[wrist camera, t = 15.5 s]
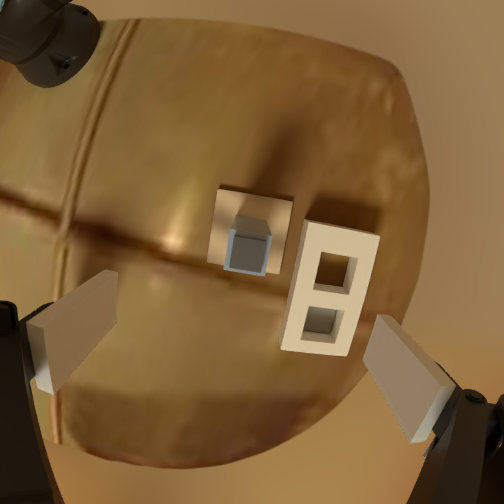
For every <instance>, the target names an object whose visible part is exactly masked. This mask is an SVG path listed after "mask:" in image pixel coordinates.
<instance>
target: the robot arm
mask: <svg viewBox="0 0 504 504" xmlns="http://www.w3.org/2000/svg"><path fill="white" fill-rule="evenodd" d="M71 1H72V0H0V59H1V60H4V61H6V62H9V63H12V64H14V65H15V66H16V68H17V69H18V70H19V71H20V73H21V74H22V75H23V76H24V78H25V79H26V80H27V81H28V82H30V83H31V84H34V85H36V86H39V87H42V88H50V87H55V86H58V85H60V84H62V83H64V82H66V81H67V80H69V79H70V78H71V77H73V76H74V75H75V74H76V73H77V72H78V71H79V70H80V69H81V68H82V67H83V66H84V65H85V63H86V62H87V61H88V59H89V58H90V56H91V55H92V53H93V51H94V49H95V46H96V44H97V41H98V37H99V24H98V21H97V19H96V17H95V16H94V15H93V14H92V13H91V12H90V11H89V10H88V9H86V8H85V7H82V6H79V5H75V4H71V3H69V2H71ZM117 292H118V272H115V271H110V270H103V271H102V272H100V273H98V274H97V275H95V276H94V277H92V278H91V279H89V280H88V281H86V282H85V283H83V284H82V285H80V286H78V287H77V288H75V289H74V290H72V291H71V292H69V293H68V294H66V295H65V296H63V297H62V298H61V299H59V300H58V301H56V302H51V303H47V304H44V305H42V306H41V307H39V308H38V309H36V311H33V312H32V313H31V314H29V315H27V316H26V317H24V318H23V319H21V320H20V321H18V313H17V307H16V305H15V304H14V303H12V302H9V301H0V504H65V503H64V501H63V498H62V496H61V493H60V491H59V488H58V486H57V483H56V480H55V477H54V474H53V471H52V468H51V465H50V462H49V459H48V456H47V452H46V449H45V446H44V442H43V439H42V435H41V431H40V427H39V423H38V419H37V414H36V410H35V405H34V401H33V395H32V390H31V386H30V380H31V379H32V378H33V377H34V376H35V378H36V383H37V387H38V389H41V390H43V391H45V392H48V393H50V394H53V395H55V393H56V392H57V391H58V390H59V389H60V387H61V386H62V385H63V384H64V383H65V381H66V380H67V379H68V378H69V377H70V375H71V374H72V373H73V372H74V371H75V370H76V368H77V367H78V366H79V365H80V364H81V363H82V361H83V360H84V359H85V358H86V357H87V356H88V354H89V353H90V352H91V351H92V350H93V349H94V348H95V346H96V345H97V344H98V343H99V342H100V341H101V340H102V338H103V337H104V336H105V335H106V334H107V333H108V332H109V331H110V329H111V328H112V327H113V326H114V325H115V324H116V323H117ZM363 362H364V364H365V365H366V367H367V369H368V371H369V372H370V374H371V376H372V377H373V379H374V381H375V382H376V384H377V386H378V388H379V390H380V391H381V393H382V395H383V396H384V398H385V400H386V402H387V403H388V405H389V407H390V409H391V410H392V412H393V414H394V416H395V417H396V419H397V421H398V423H399V425H400V427H401V428H402V430H403V432H404V434H405V435H406V437H407V439H408V441H409V443H415V442H423V441H425V440H426V439H427V437H428V435H429V434H430V432H431V431H432V430H433V432H434V433H435V435H436V436H435V438H434V439H433V441H432V443H431V444H430V446H429V447H428V449H427V450H426V452H425V453H424V455H423V456H426V455H427V456H426V459H425V462H424V464H423V467H422V469H421V472H420V474H419V477H418V479H417V482H416V484H415V486H414V488H413V491H412V493H411V495H410V497H409V499H408V501H407V503H406V504H504V394H503V395H501V396H500V398H499V400H498V402H497V403H496V404H491V403H487V400H486V398H485V397H484V396H483V395H482V394H481V393H479V392H477V391H475V390H471V389H464V390H462V388H461V387H460V386H459V385H458V384H457V383H456V382H455V381H454V380H453V378H452V377H450V376H449V374H448V373H447V372H445V370H444V369H443V368H442V367H441V366H440V365H439V364H438V363H436V362H435V361H433V359H432V358H431V357H430V356H429V355H428V354H427V353H426V352H425V351H424V350H423V349H422V348H421V347H420V346H419V345H418V344H417V343H416V341H414V340H413V339H412V337H411V336H410V335H409V334H408V333H407V332H406V331H405V330H404V329H403V328H402V327H401V326H400V325H399V324H398V323H397V322H396V321H395V320H394V319H393V318H392V317H391V316H390V315H382V314H378V315H377V318H376V321H375V324H374V327H373V331H372V334H371V337H370V340H369V343H368V345H367V348H366V351H365V354H364V357H363ZM501 443H502V444H501ZM500 444H501V446H500ZM499 446H500V448H499Z"/></svg>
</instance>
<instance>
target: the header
mask: <svg viewBox="0 0 504 504" xmlns="http://www.w3.org/2000/svg"><path fill="white" fill-rule="evenodd" d="M379 239H380V236H379V235H376V234H374V233H372V232H368V231H363V230H358V229H354V228H349V227H344V226H339V225H334V224H329V223H323V222H318V221H313V220H308V219H304V222H303V227H302V232H301V237H300V242H299V247H298V252H297V257H296V262H295V266H294V271H293V276H292V281H291V285H290V290H289V294H288V299H287V303H286V308H285V312H284V317H283V321H282V326H281V330H280V334H279V343H280V349H281V350H288V351H297V352H306V353H316V354H326V355H337V356H347V354H348V351H349V348H350V345H351V342H352V339H353V335H354V332H355V329H356V326H357V323H358V319H359V316H360V312H361V309H362V306H363V302H364V299H365V295H366V291H367V288H368V284H369V280H370V276H371V272H372V268H373V264H374V260H375V256H376V252H377V248H378V243H379ZM321 251H322V252H327V253H333V254H339V255H344V256H350V257H349V261H348V266H347V270H346V274H345V278H344V282H343V286H342V287H339V286H332V285H326V284H319V283H314V282H315V278H316V274H317V269H318V265H319V260H320V256H321ZM335 312H336V313H335ZM333 319H334V320H333ZM331 326H332V327H331Z"/></svg>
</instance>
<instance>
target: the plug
mask: <svg viewBox="0 0 504 504" xmlns="http://www.w3.org/2000/svg"><path fill="white" fill-rule="evenodd" d="M271 241H272V234H271V231H270V229H269V226H268V224H267V221H266V220H260V219H254V218H248V217H242V216H236V217H235V219H234V221H233V223H232V226H231V228H230V232H229V238H228V245H227V251H226V257H225V264H224V270H229V271H235V272H241V273H247V274H253V275H259V276H265V272H266V267H267V262H268V257H269V251H270V246H271Z"/></svg>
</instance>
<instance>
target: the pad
mask: <svg viewBox="0 0 504 504" xmlns="http://www.w3.org/2000/svg"><path fill="white" fill-rule="evenodd" d="M292 204H293V202H292V201H287V200H281V199H276V198H270V197H264V196H259V195H253V194H247V193H241V192H235V191H229V190H222V189H218V192H217V198H216V204H215V210H214V217H213V223H212V230H211V236H210V243H209V250H208V257H207V262H209V263H215V264H221V265H224V264H225V257H226V251H227V245H228V238H229V232H230V228H231V226H232V223H233V221H234V219H235V217H236V216H242V217H248V218H254V219H260V220H266V221H267V224H268V226H269V229H270V231H271V234H272V241H271V246H270V251H269V257H268V262H267V267H266V272H269V273H275V274H279V272H280V267H281V262H282V257H283V252H284V246H285V241H286V236H287V231H288V226H289V220H290V215H291V210H292Z"/></svg>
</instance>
